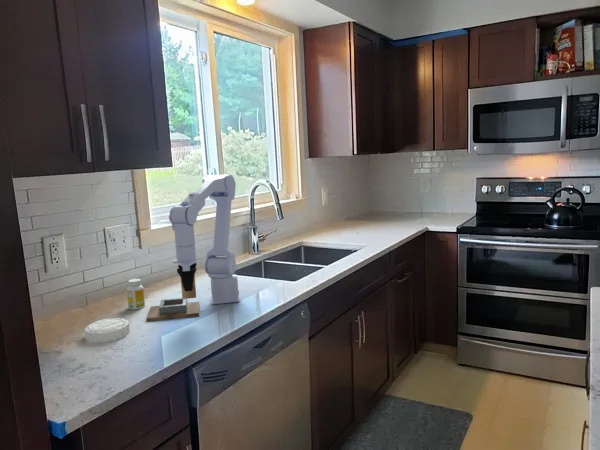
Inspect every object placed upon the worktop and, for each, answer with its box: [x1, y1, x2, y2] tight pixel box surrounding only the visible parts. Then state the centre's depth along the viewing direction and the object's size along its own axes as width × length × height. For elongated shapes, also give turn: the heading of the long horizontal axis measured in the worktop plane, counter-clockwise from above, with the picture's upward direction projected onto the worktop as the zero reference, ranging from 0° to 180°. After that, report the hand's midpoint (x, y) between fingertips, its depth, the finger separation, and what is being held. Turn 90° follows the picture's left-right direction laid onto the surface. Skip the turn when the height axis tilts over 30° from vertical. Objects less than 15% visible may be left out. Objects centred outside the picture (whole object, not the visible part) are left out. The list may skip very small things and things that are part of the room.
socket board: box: [146, 297, 200, 322], centre depth 152 cm, size 16×12×4 cm
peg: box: [180, 275, 197, 300], centre depth 141 cm, size 4×4×8 cm
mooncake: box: [83, 317, 131, 344], centre depth 135 cm, size 12×12×4 cm
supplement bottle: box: [126, 278, 146, 310], centre depth 158 cm, size 5×5×10 cm
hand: (188, 288), depth 142 cm, fingers closed on peg, 4 cm apart
